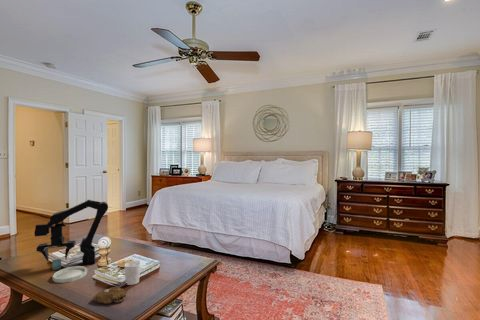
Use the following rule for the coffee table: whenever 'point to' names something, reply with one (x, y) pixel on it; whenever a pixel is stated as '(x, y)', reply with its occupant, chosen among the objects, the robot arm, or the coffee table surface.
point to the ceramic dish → (69, 274)
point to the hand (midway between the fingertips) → (56, 259)
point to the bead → (56, 264)
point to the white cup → (132, 272)
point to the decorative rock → (110, 295)
